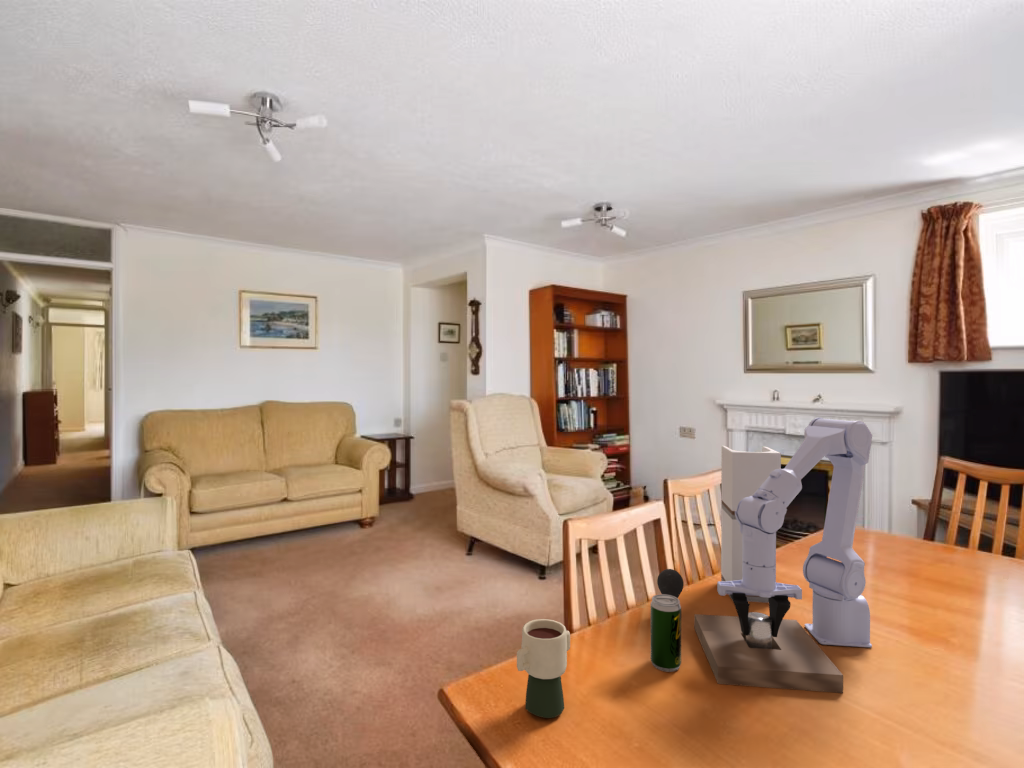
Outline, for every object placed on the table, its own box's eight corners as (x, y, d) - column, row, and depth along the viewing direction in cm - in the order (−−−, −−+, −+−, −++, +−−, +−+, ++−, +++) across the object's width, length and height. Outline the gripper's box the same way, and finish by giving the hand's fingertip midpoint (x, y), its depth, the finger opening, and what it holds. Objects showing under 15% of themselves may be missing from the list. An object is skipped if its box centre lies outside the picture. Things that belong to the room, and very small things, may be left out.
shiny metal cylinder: (767, 649, 101) (767, 612, 101) (775, 661, 97) (775, 623, 97) (742, 647, 102) (742, 611, 102) (749, 659, 97) (749, 622, 97)
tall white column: (780, 603, 122) (780, 453, 122) (732, 600, 124) (732, 452, 124) (765, 584, 134) (765, 446, 133) (721, 581, 136) (721, 445, 135)
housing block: (796, 634, 108) (796, 619, 108) (843, 692, 88) (843, 675, 88) (694, 628, 111) (694, 614, 111) (717, 683, 91) (717, 666, 91)
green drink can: (649, 670, 95) (649, 604, 95) (651, 654, 100) (651, 592, 100) (681, 675, 94) (681, 607, 93) (681, 659, 99) (681, 595, 98)
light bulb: (685, 621, 114) (685, 575, 114) (658, 619, 115) (658, 573, 115) (682, 609, 119) (682, 566, 119) (656, 607, 120) (656, 564, 120)
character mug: (555, 686, 90) (554, 611, 90) (585, 707, 85) (584, 627, 84) (503, 711, 84) (503, 630, 83) (532, 736, 78) (532, 648, 78)
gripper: (724, 567, 96) (723, 641, 96) (809, 571, 94) (808, 647, 94) (714, 554, 103) (714, 623, 103) (793, 558, 101) (793, 628, 101)
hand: (758, 633), depth 99 cm, fingers closed on shiny metal cylinder, 4 cm apart
